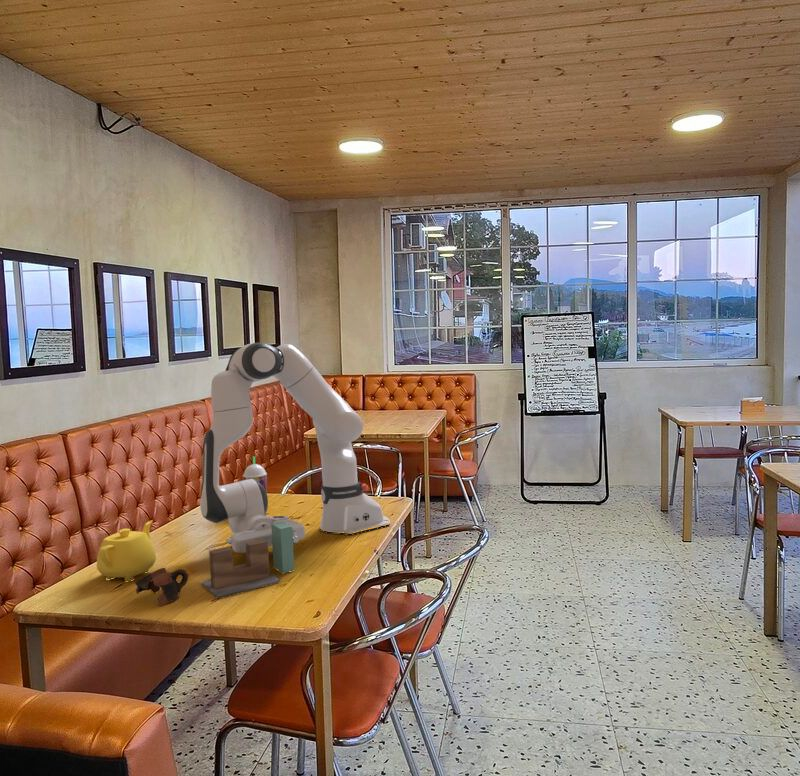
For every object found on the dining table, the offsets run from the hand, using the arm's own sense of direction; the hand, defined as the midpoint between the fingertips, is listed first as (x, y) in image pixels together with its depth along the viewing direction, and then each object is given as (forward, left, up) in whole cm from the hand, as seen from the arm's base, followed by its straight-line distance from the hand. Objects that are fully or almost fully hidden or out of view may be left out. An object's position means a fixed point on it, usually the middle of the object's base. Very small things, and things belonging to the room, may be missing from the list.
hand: (279, 543), depth 172 cm
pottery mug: (+30, +5, -7) cm, 31 cm away
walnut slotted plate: (+12, +6, -7) cm, 14 cm away
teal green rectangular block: (0, +2, -7) cm, 7 cm away
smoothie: (-6, -60, -7) cm, 61 cm away
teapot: (+37, -16, -7) cm, 41 cm away
